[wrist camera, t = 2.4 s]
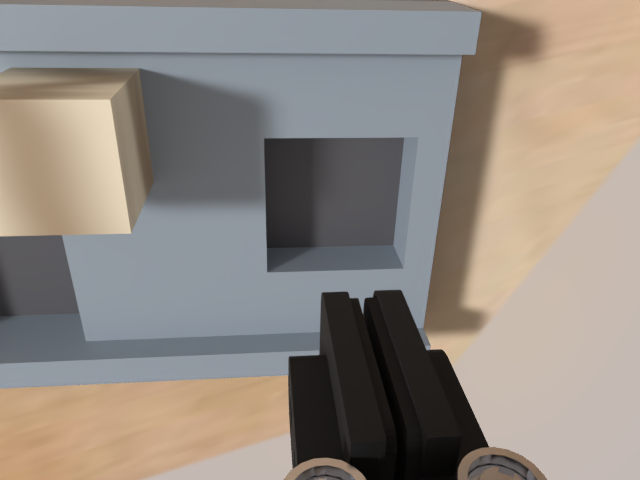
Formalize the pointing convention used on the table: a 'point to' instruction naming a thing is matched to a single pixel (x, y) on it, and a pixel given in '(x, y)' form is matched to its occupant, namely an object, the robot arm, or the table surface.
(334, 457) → the robot arm
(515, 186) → the table surface
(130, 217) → the maple block
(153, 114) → the box
